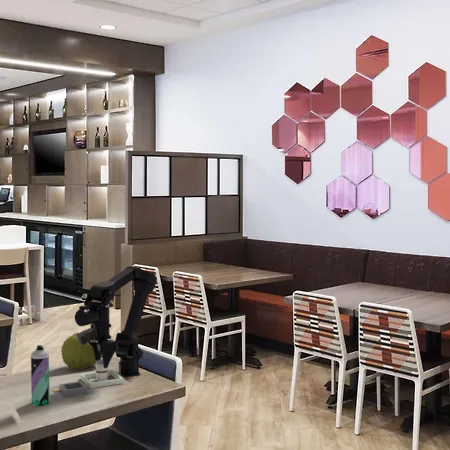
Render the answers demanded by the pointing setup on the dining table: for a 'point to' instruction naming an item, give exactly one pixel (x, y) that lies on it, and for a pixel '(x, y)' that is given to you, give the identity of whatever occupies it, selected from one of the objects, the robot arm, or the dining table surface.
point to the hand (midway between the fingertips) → (101, 364)
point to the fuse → (101, 371)
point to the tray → (101, 383)
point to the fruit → (77, 353)
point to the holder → (72, 390)
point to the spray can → (40, 376)
